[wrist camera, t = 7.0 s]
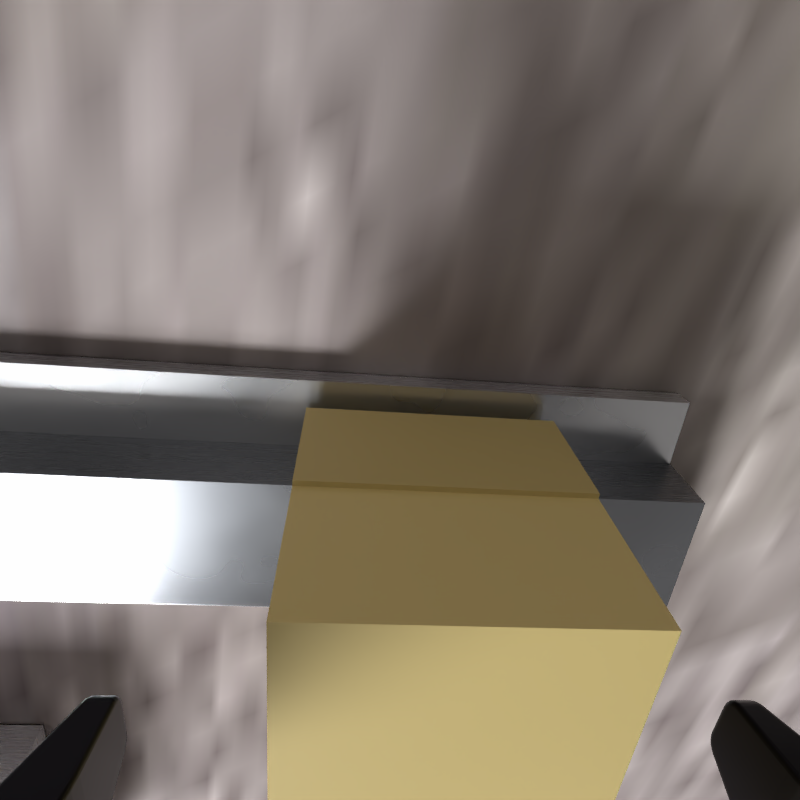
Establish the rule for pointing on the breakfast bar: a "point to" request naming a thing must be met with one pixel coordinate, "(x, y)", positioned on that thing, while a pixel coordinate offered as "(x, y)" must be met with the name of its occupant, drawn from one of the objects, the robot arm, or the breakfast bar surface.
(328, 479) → the carriage
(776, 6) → the breakfast bar surface
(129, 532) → the rail
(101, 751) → the robot arm
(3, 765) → the cabinet
